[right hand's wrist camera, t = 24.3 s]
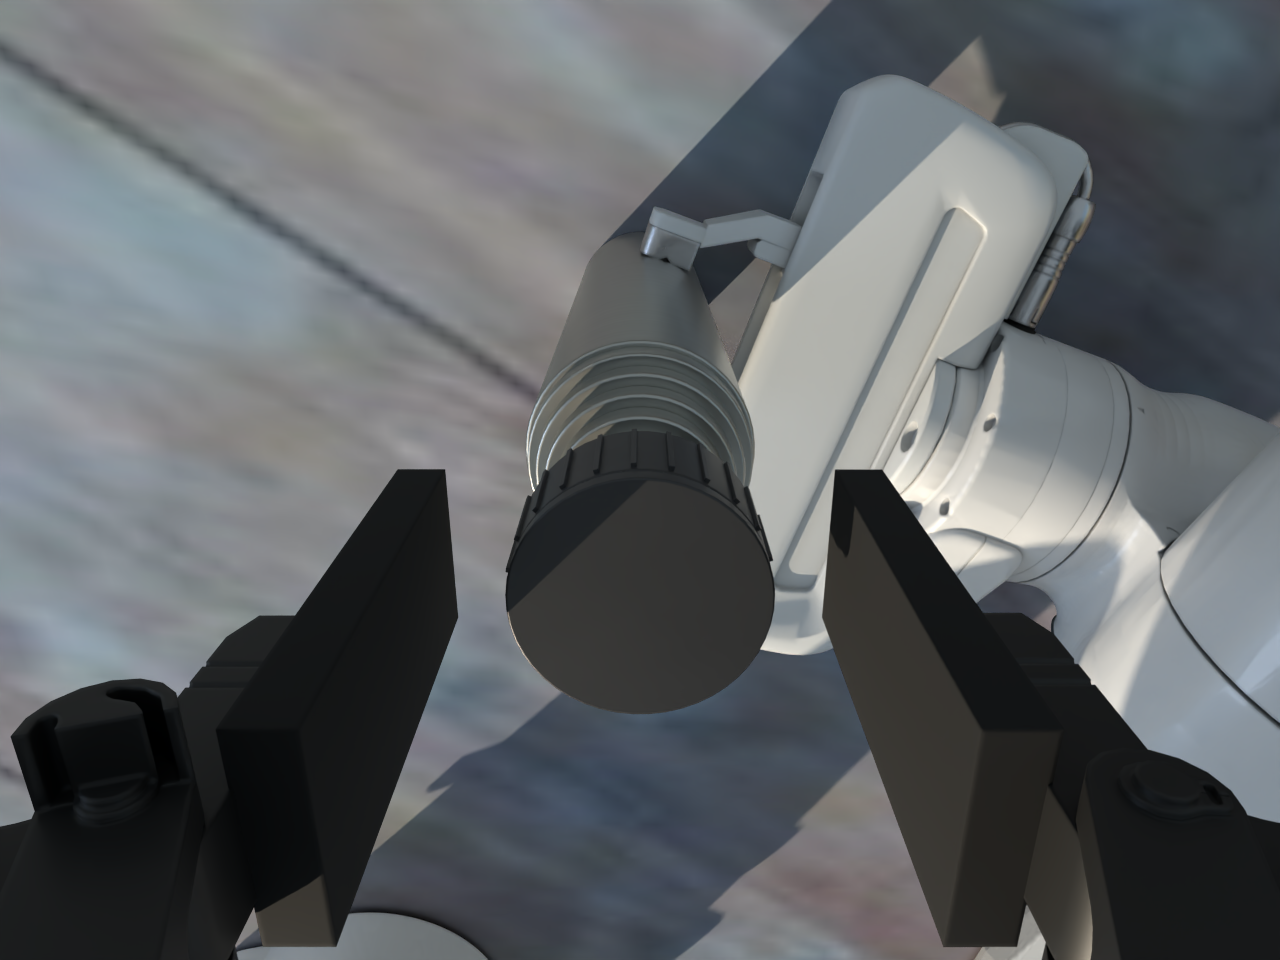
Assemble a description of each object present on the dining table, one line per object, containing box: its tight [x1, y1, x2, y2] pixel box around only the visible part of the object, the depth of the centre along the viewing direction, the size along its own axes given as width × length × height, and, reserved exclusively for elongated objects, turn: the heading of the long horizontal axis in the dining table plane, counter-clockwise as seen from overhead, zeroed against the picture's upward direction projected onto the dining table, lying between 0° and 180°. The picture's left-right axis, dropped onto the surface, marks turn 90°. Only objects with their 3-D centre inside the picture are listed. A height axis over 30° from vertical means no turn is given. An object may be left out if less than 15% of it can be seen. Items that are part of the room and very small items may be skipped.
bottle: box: [526, 232, 755, 492], centre depth 25 cm, size 5×5×25 cm
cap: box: [505, 429, 775, 714], centre depth 14 cm, size 4×4×2 cm
